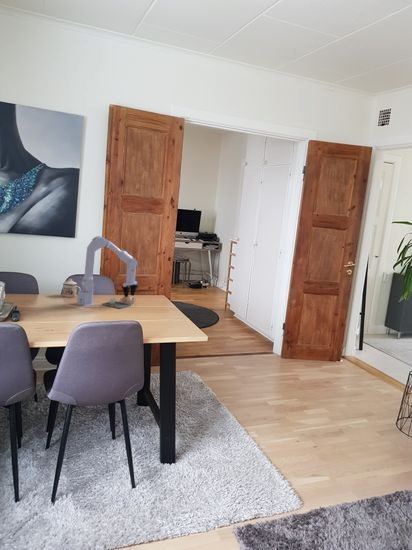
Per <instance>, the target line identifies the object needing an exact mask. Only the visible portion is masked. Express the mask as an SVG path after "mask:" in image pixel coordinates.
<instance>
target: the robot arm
mask: <svg viewBox="0 0 412 550" xmlns="http://www.w3.org/2000/svg"><path fill="white" fill-rule="evenodd" d="M103 248H108V249H110V250H111V251H112V252H114V253H115V254H117V257H118V258H119V259H120V260H121V261H122V262H124V263H125V264H126V267H127V268H126V278H125V282H124V283H122V286H121V289H122V290H123V295H124V296H123V297H129V294H130V296H135V294H136V293H135V292H136V291H137V289H138V287H139V285H138V281H136V274H137V273H136V271H137V269H136V268H137V266H138V264H139V263H138V261H137V259H136V258H134V256H132V255H130V254H129V253H128V251H127V250H121V249H120V248H119V247H118V246H116V245H115V244H114V243H113V242H111V241H110V240H108V239H107V238H105V237H103V236H100V235H98V236H94V237H93V238H92V239H91V241H90V243H89V244H88V245H87V248H86V253H85V257H86V258H85V265H84V275H83V277H82V280H81V283H80V285H81V291H80V292H79V291H78V292H79V293H77V302H76V305H77V306H78V305H79V306H84V307H89V306H92V305H96V303H94V302H93V301H94V300H93V299H94V289H95V283H94V276H93V275H94V267H95V256H96V255H95V254H96V253H95V252H97V251H98V250H99V249H103ZM129 292H130V293H129Z"/></svg>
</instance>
